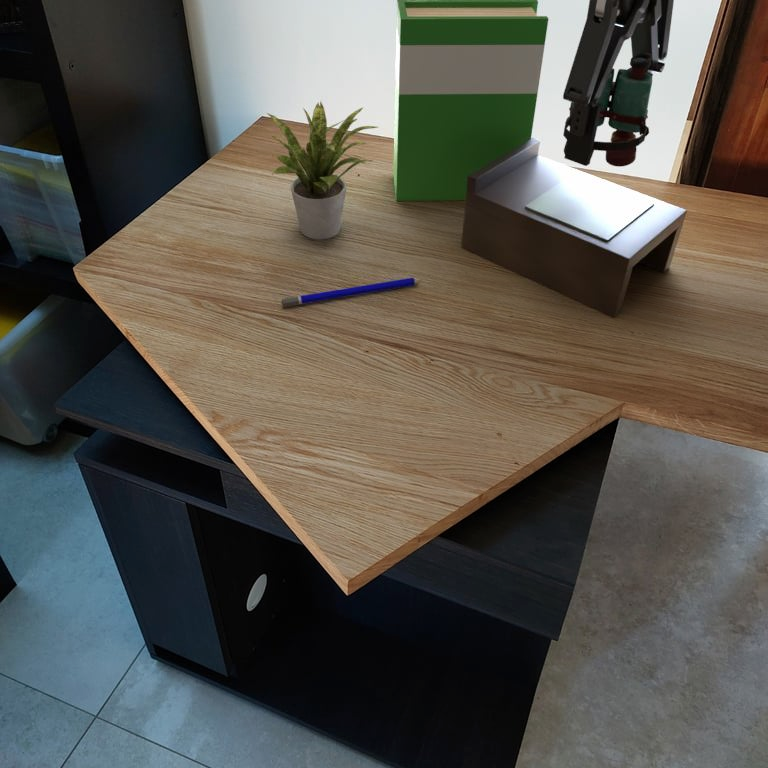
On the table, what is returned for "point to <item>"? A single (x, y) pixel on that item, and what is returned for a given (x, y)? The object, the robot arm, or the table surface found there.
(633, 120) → the binoculars
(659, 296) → the table surface
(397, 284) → the pencil
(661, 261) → the shelf
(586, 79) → the robot arm
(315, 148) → the house plant
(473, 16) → the hardback book
